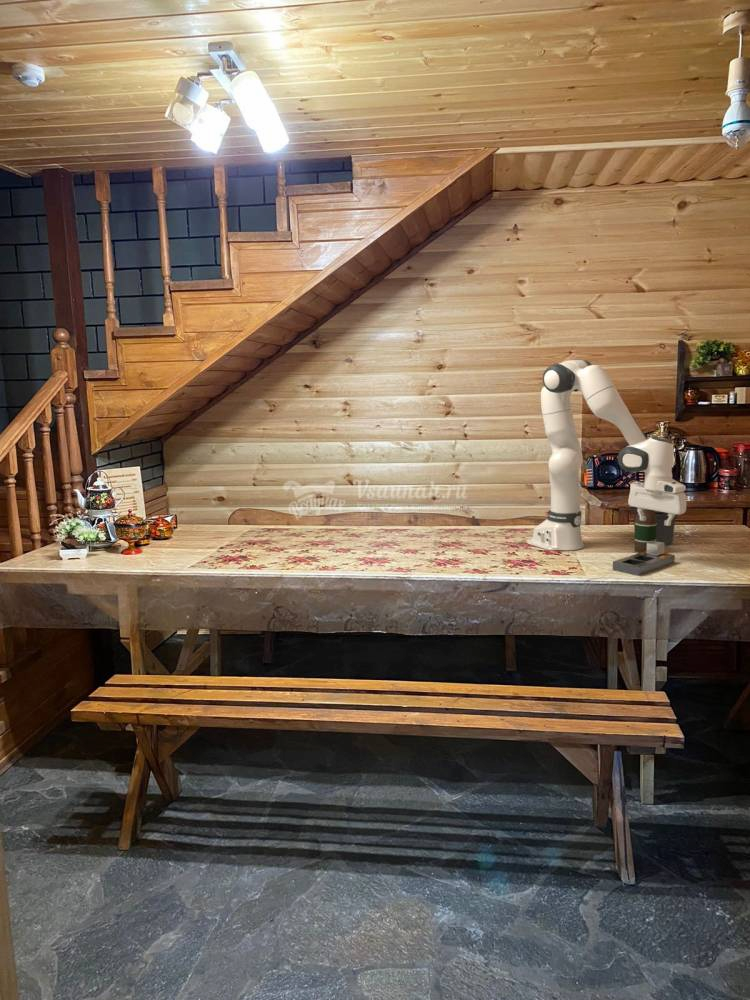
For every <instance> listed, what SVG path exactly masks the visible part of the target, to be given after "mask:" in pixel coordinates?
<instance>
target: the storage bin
mask: <svg viewBox="0 0 750 1000" xmlns="http://www.w3.org/2000/svg"><path fill="white" fill-rule="evenodd" d="M630 510H632V511H633V523H634V524H633V527H634V530H635V519H636V516H637V514H638V511H637V507H632V506H630ZM653 512H654V513H655V515H656V518H657V532H656V542H662V543H664V546H671V545H673V542H674V533H675V532H674V531H675V525H676V520H677V519H678V517H679V515H676V514H675V516H674V518H673V519H672V520H671V525H670V526H667V525H664V523H665V522H664V521H665V520H667V519H668V518H669V516H668V513H665V512H660V511H654V510H653Z"/></svg>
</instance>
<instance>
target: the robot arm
mask: <svg viewBox="0 0 750 1000" xmlns="http://www.w3.org/2000/svg"><path fill="white" fill-rule="evenodd" d="M542 383H543V387H542V388H541V391H540V407H541V409H540V410H541V414H542V420H543V426H544V431H545V435H546V438H547V441H548V443H549V447H550V449H551V453H552V454H551V455H550V456H549V459H548V475H549V476H548V477H549V485H550V510H548V511H545V512H544V515H545V516H546V517H547V518H546V519H544V520H543V521H542V522H541V523H539V524H538V525H537V526H535V527H534V529H533V532H532V537H531V538H529V539H527V541H526V544H529V545H531V546H535V547H538V548H542V549H544V550H547V551H574V550H580V549H584V547H585V545H584V541H583V537H582V529H581V522H582V511H581V487H580V475H579V474H580V468H581V467H582V465H583V462H584V457H583V453H582V448H581V445H580V441H579V438H578V434H577V430H576V425H575V419H574V415H573V409H572V405H571V395H572V393H573V392H580V393H581V394H582V396H583V398H584V400H585V402H586V403H587V406H588V408H589V409H590V410H591V412H592V413H593V414H594V415H595V417H596V418H598V419H602V420H605V421H607V422H609V423H611V424H613V425H615V426H616V428H618V430H619V431H620V433H621V434H622V436H623V437H624V439H625V440H626V442H627V443H628V445H627V446H625V447H623V448H622V449H621V450H620V451H619V452H618V456H617V463H618V465H619V466H620V469H622V470H624V471H625V472H627V473H638V472H643V473H644V481H638V480H633V482H631V483H630V487H629V488H630V489H629V495H628V501H627V502H628V503H627V504H628V505H629V506H630V507H631V506H632V507H637V511H638V513H639V515H640V520H641V521H646V516H645V515H644V513H643V510H644V509H649V510H654V511H660V512H665V513H668V516H669V518H668V519H667V520H665V521H664V522H665V523H664V525H667V526H670V525H671V520H672V519H673V518H674V516H675V514H676V515H678V516H680V515H683V514H685V513H686V511H687V495H686V493H685V491H686V490H687V488H686V485H685V484H684V483H681V482H679V481H677V480H675V479H673V473H672V472H673V471H672V470H673V466H674V458H675V452H674V444H673V441H672V440H671V439H669V438H667V437H664V436H658V435H654V436H650V437H649V438H648V437H647V436H646V434H645V433H644V431H643V430H642V428H641V427H640V425H639V423H638V422H637V419H635V417H634V416H633V414H632V413H631V411H630V410H629V408H628V407H627V405H626V404H625V402H624V401H623V398H622V397H621V395H620V393H619V391H618V390H617V387H616V386H615V384H614V383H613V381H612V379H611V378H610V376H609V375H608V374H607V372H606V371H605V370H604V369H603V368H602V367H601V366H600V365H598V364H592V363H591V362H590V361H589V360H585V359H582V358H579V359H570V360H565V361H562V362H559V363H554V364H552V365H550V366H548V367H547V368H546V369H545V370H544V371H543V374H542Z"/></svg>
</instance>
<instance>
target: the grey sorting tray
mask: <svg viewBox="0 0 750 1000" xmlns="http://www.w3.org/2000/svg"><path fill="white" fill-rule="evenodd" d="M646 554H647V551H643V552H640V553H636V554H635V553H634V554H632V555H629V556H626V557H622V558H620V559H616V560H614V561H612V571H614V572H620V573H623V574H629V575H632V576H633V575H634V576H637V577H640V576H643V575H646V574H649V573H651V572H654V571H657V570H659V569H662V568H665V567H668V566H671V565H674V564H676V563H675V562H676V561H675V560H676V559H675V557H676V556H675V554H672V553H668V552H664V555H663V556H660V557H654V556H649V555H646Z"/></svg>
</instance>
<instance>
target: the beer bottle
mask: <svg viewBox="0 0 750 1000" xmlns="http://www.w3.org/2000/svg"><path fill="white" fill-rule="evenodd" d="M643 513H644V515H645V516H646V521H641V520H640V515H639V513H638V514H637V516H636V519H635V529H634V544H633V545H634V546H633V548H634V550H633V551H634V552H635V553H637V552H638V553H640V552H643V551H647V543H649V542H652V541H656V532H657V518H656V515H655V513H654V512H653V510H649V509H644V510H643ZM638 553H637V554H638Z"/></svg>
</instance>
